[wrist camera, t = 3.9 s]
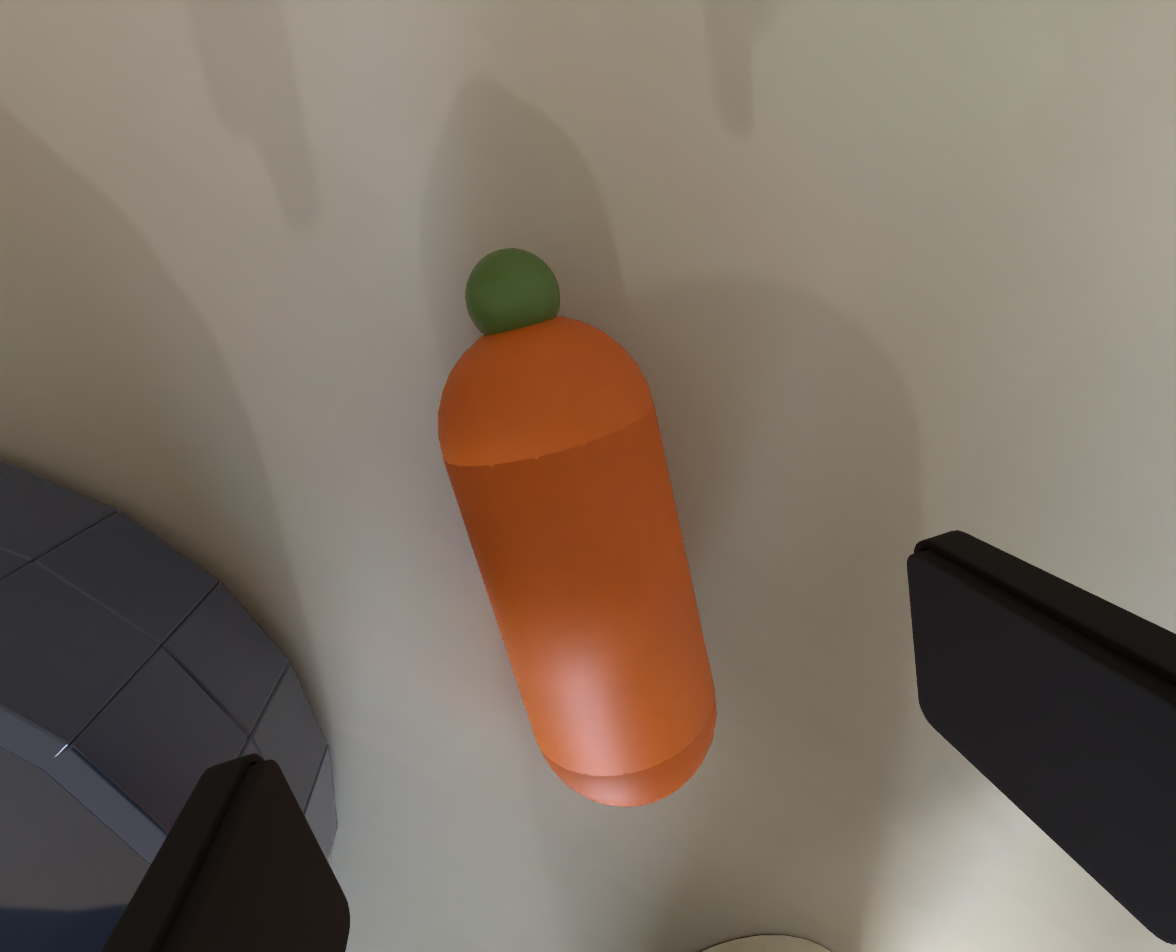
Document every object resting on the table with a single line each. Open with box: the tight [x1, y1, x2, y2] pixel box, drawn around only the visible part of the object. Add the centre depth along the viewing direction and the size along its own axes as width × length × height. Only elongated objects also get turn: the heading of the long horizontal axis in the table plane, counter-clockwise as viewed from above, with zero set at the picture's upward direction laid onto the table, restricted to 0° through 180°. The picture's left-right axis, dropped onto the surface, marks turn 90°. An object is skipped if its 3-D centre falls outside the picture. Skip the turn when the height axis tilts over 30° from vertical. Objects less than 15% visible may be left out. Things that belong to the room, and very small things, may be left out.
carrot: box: [438, 248, 717, 807], centre depth 14 cm, size 13×4×4 cm, turn 14°
